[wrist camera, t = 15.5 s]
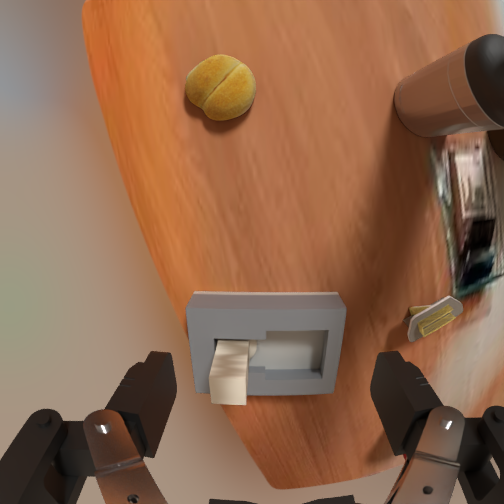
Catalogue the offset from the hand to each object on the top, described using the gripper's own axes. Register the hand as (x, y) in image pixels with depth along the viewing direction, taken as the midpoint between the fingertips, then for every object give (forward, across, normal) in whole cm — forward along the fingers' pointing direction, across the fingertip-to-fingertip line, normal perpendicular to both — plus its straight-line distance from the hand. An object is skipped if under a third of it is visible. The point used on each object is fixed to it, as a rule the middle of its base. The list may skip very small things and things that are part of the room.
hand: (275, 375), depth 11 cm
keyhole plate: (+30, 0, +16) cm, 34 cm away
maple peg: (+29, +4, +16) cm, 33 cm away
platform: (+31, -25, +12) cm, 41 cm away
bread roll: (+31, +6, -18) cm, 36 cm away
